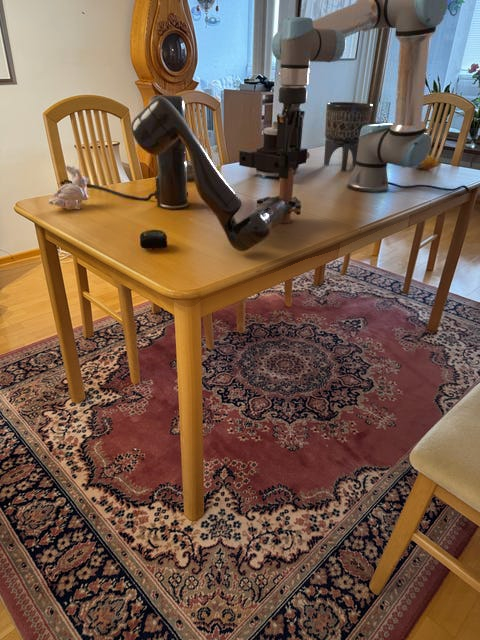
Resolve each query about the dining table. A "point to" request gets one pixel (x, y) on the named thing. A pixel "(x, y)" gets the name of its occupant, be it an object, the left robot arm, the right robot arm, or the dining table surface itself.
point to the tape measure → (153, 239)
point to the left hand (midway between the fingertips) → (287, 199)
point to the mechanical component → (268, 155)
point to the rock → (189, 171)
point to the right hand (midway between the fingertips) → (286, 175)
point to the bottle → (287, 190)
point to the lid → (292, 163)
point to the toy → (429, 163)
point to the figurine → (71, 191)
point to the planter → (345, 128)
